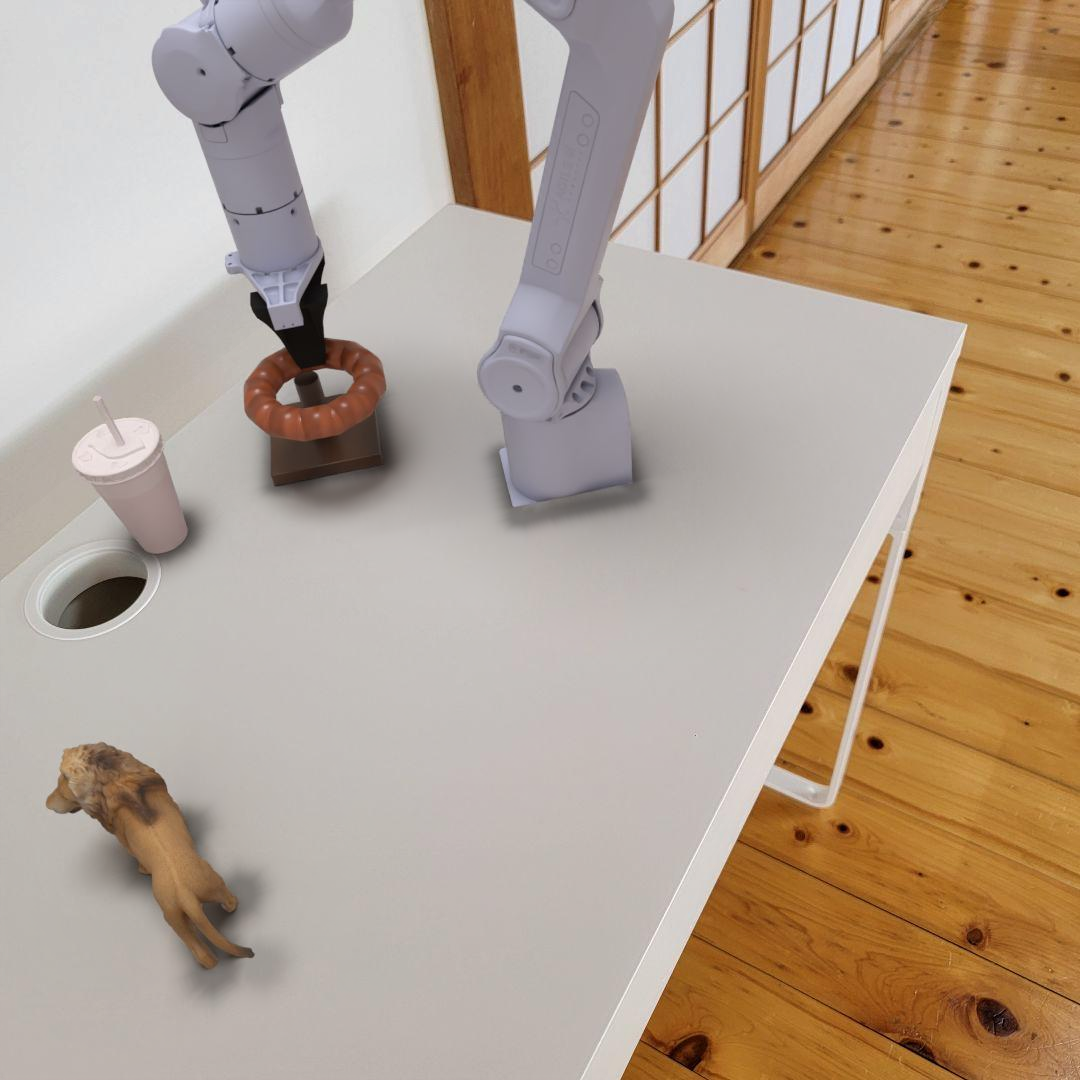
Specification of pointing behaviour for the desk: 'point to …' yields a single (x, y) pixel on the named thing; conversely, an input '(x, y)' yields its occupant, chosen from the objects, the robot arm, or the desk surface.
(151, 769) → the lion figurine
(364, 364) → the ring
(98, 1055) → the desk surface
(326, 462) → the peg stand
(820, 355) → the desk surface
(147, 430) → the smoothie
